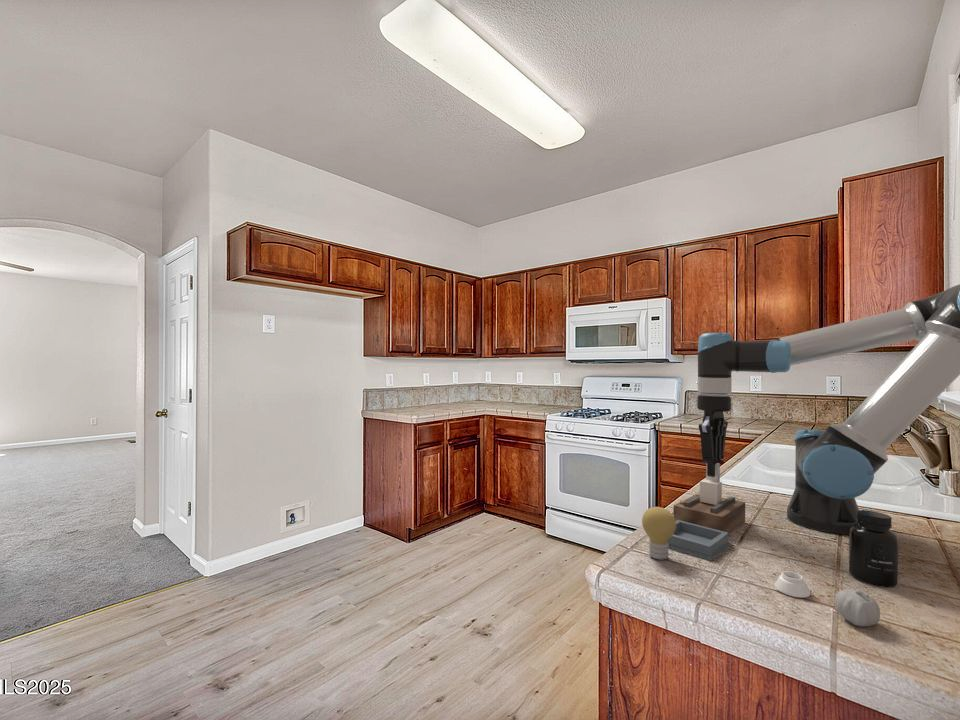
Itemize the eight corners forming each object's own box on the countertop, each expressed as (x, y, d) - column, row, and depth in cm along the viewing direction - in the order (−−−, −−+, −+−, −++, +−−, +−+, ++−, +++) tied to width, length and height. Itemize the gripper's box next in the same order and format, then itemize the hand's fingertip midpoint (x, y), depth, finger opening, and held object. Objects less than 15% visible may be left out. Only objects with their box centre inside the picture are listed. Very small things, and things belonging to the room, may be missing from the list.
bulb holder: (731, 544, 98) (731, 532, 98) (711, 561, 89) (711, 548, 89) (676, 529, 106) (676, 518, 106) (652, 543, 98) (653, 531, 98)
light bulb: (679, 565, 87) (679, 513, 87) (644, 562, 88) (644, 511, 89) (671, 552, 93) (672, 504, 94) (639, 549, 95) (639, 501, 95)
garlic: (890, 636, 65) (890, 600, 65) (845, 629, 66) (845, 594, 67) (868, 614, 71) (868, 581, 71) (827, 609, 72) (827, 576, 72)
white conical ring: (814, 602, 74) (804, 588, 79) (814, 584, 74) (804, 571, 79) (778, 596, 76) (771, 583, 81) (778, 578, 76) (771, 566, 81)
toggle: (721, 502, 110) (721, 482, 110) (717, 505, 108) (717, 484, 108) (704, 499, 113) (704, 479, 113) (699, 501, 111) (699, 481, 111)
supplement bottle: (881, 591, 78) (881, 521, 78) (839, 573, 85) (839, 509, 85) (908, 585, 80) (908, 518, 80) (865, 569, 87) (866, 506, 87)
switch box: (745, 522, 112) (745, 498, 112) (722, 539, 101) (722, 512, 101) (699, 511, 120) (699, 489, 120) (673, 526, 109) (673, 501, 109)
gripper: (708, 392, 120) (707, 481, 120) (687, 394, 111) (686, 490, 111) (739, 394, 114) (738, 487, 114) (720, 396, 105) (719, 497, 105)
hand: (712, 488), depth 112 cm, fingers closed
